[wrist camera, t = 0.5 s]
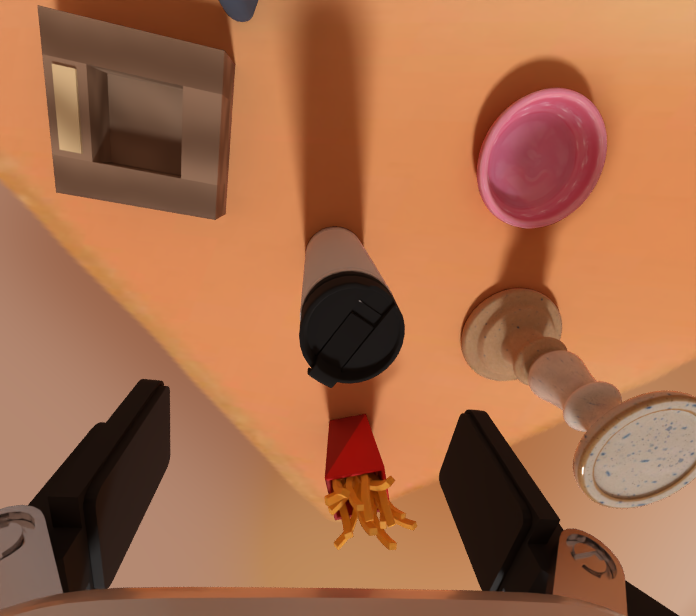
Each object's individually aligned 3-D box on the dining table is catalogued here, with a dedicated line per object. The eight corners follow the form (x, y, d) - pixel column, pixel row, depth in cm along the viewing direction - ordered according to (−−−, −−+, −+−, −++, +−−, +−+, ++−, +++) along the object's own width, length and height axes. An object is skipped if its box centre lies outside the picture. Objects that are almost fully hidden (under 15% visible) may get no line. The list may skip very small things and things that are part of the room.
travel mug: (292, 264, 38) (272, 357, 20) (328, 213, 37) (343, 264, 18) (338, 296, 40) (359, 408, 22) (375, 249, 38) (431, 328, 20)
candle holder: (559, 360, 46) (725, 492, 28) (468, 387, 46) (571, 537, 28) (553, 273, 41) (749, 362, 23) (451, 304, 42) (563, 417, 23)
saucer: (468, 232, 39) (481, 237, 36) (466, 104, 34) (481, 98, 31) (578, 214, 39) (600, 218, 36) (592, 84, 34) (617, 77, 32)
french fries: (329, 455, 49) (335, 571, 35) (318, 406, 45) (320, 512, 32) (392, 443, 49) (424, 553, 35) (386, 394, 46) (417, 494, 32)
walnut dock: (72, 25, 29) (35, 4, 25) (235, 64, 31) (223, 50, 27) (84, 189, 34) (54, 192, 30) (225, 214, 36) (214, 220, 32)
